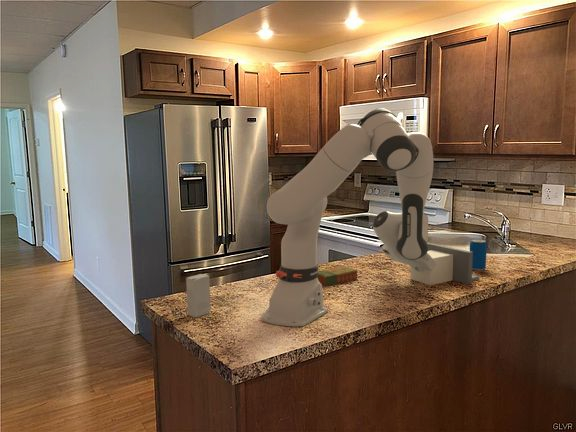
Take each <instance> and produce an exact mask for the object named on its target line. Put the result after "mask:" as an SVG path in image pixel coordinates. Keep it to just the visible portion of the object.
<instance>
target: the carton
mask: <svg viewBox="0 0 576 432" xmlns="http://www.w3.org/2000/svg"><path fill="white" fill-rule="evenodd" d="M317 278H318V280H319V282H320V283H321V285H322V287H323V286H324V287H328V286H333V285H337V284H338V285H339V284H342V283H347V282H351V281H354V280H355V281H356V280H358V270H357V269H355V268H353V267H349V266H345V265H341V266H337V267H331V268H326V269H322V270H318V277H317Z"/></svg>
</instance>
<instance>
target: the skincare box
mask: <svg viewBox="0 0 576 432" xmlns="http://www.w3.org/2000/svg"><path fill="white" fill-rule="evenodd" d="M185 280H186V281H185V282H186V283H185V284H186V286H185V287H186V303H187V308H186V309H187V315H188V316H189V317H193V318H199V317H202V316H204V315H207V314H209V313H211V311H212V309H211V285H210V275H208V274H203V273H199V274H196V275H191V276H188V277H185Z"/></svg>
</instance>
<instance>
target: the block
mask: <svg viewBox="0 0 576 432" xmlns="http://www.w3.org/2000/svg"><path fill="white" fill-rule="evenodd" d="M427 253H428V254H429V255H430V256H431V257H432V258H433V259H434V261H435V262H436V265H435V267H434V268H433V270H432V271H428V270H425V269H424V270H423V271H422V272H419V271H416V270H414V268H412V267H411V266H410V280H411V281H416V282H419V283H421V284H422V283H423V284H424V285H427V286H433V285H439V284H442V283H446V282H451V281H453V280H452V278H453V254H448V253H444V252H439V251H435V250H430V251H428V252H427Z"/></svg>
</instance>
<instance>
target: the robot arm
mask: <svg viewBox="0 0 576 432" xmlns="http://www.w3.org/2000/svg"><path fill="white" fill-rule="evenodd" d="M371 155H373V157H374V158H375V159H376V162H377V163H378V164H379V165H380V167H382V168H383V169H384V170H386V171H387V172H395V173H396V174H395V175H396V182H397V188H398V192H399V200H400V205H401V212H391V211H388V210H384V211H382V212H380V213H379V214H377V215H376V216H375V218H374V219H373V223H372V229H373V232H374V233H375V235H376V236H377V238H378V239H379V240H380V242H381V243H382V244H383V245H382V247H381V248H380V250H381V251H382V253H384V254H385V255H386V256H387V257H388V258H389V259H390V260H391V261H393V262H397V263H401V264H404V265H407V266H410V268H411V267H412V268H414V270H416V271H419V272H422V271H423V270H424V269H425V270H428V271H432V270H433V268H434V267H435V265H436V262H435V261H434V259H433V258H432V257H431V256H430V255H429V254H428V253H427V252H428V244H427V242H428V241H429V240H428V237H429V217H428V215H427V214H426V213H425V212H424V211H425V206H426V202H427V198H428V194H429V190H430V187H431V183H432V178H433V173H434V150H433V146H432V141H431V139H430V137H428V136H427V135H426V134H424V133H423V132H420V131H413V132H408V133H407V131H406V128H405V127H404V125H403V124H402V123H401V121H400V120H399V119H398V118H397V116H396V115H395V114H394V113H393V112H392V111H390V110H388V109H387V108H384V107H382V108H381V107H380V108H376V109H373V110H371V111H370V112H368V113H366V114H365V115H364V116H363V118H361V119H360V120H359V121H358V122H357V123H356V124H355V123H349V124H346V125H345V126H343V127H342V128H340V130H339V131H337V132H336V133H335V134H334V135H333V136H332V137H331V138H330V139H329V140H328V141H327V142H326V143H325V144H324V145H323V146H322V148H321V149H320V150H319V151H318V153H316V155H315V156H314V157H313V159H311V161H310V162H309V163H308V164H307V165H306V166H305V167H304V168H303V169H302V170H300V171H299V172H298V173H296V175H294V176H293V177H292V178H291V179H290V180H288V181H287V182H286V183H285V184H284V185H283V186H282V187H280V188H279V189H278V190H276V191H275V192H273V193H272V194H271V195H270V196H269V197H268V199H267V202H266V212H267V215H268V216H269V218H270V219H271V221H273V222H274V223H276V224H280V225H287V227H286V231H285V233H284V235H283V237H282V238H281V241H280V245H281V246H280V248H281V249H280V251H281V252H280V254H281V255H280V256H281V257H280V258H281V259H280V260H281V261H280V263H281V264H280V267H279V270H276V272H275V276H276V278H278V281H277V283H276V285H275V287H274V289H273V291H272V294H271V295H270V297H269V305H268V308H267V309H266V310H265V311H264V313H263V314H262V316H261V318H260V319H261V321H263V322H265V323H268V324H271V325H277V326H283V327H284V326H285V327H304V326H306V325H308V324H309V323H311V322H314V320H316V319H318V318H320V317H321V316H324V315H326V313H328V312H329V309H328V307H327V306H324V291H323V285H321V283H320V282H319V280H318V278H317V277H318V271H319V266H318V264H317V263H318V262H317V261H318V260H317V252H318V251H317V247H318V245H317V243H318V236H319V231H320V227H321V226H320V225H321V222H322V221H321V220H322V217H323V215H324V214H323V213H324V212H325V210H326V209H327V205H328V196H329V195H330V194H332V193H334V192H335V191H336V190H337V189H338V188H339V187H340V186H341V184H342V183H344V182H345V180H346V179H347V178H348V177H349V175H351V174H352V172H354V170H356V168H357V167H358V165H359V164H360V163H361V162H362V161H363V160H364V159H365V158H367V157H369V156H371Z"/></svg>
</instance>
